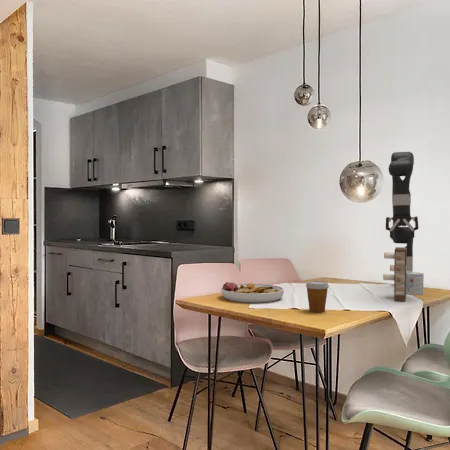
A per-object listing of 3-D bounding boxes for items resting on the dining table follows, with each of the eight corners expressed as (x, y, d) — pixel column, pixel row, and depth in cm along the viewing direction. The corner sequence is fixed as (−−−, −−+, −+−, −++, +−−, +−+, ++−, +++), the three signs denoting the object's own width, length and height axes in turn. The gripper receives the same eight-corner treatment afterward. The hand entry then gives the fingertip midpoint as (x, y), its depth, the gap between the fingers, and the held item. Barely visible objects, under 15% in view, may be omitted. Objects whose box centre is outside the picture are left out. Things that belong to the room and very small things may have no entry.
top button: (384, 258, 241) (384, 252, 241) (400, 258, 238) (400, 252, 238) (384, 258, 238) (384, 252, 238) (399, 259, 235) (399, 253, 235)
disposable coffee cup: (312, 307, 210) (312, 280, 209) (332, 310, 204) (332, 282, 203) (301, 311, 202) (301, 282, 202) (321, 314, 196) (321, 284, 196)
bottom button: (383, 279, 236) (383, 273, 236) (399, 280, 234) (399, 274, 234) (383, 280, 233) (383, 274, 233) (399, 281, 231) (399, 274, 231)
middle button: (390, 270, 230) (390, 264, 230) (406, 271, 228) (406, 265, 228) (389, 271, 228) (389, 265, 227) (406, 272, 225) (406, 265, 225)
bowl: (280, 293, 248) (280, 278, 248) (287, 304, 218) (287, 287, 218) (222, 293, 249) (222, 278, 249) (220, 304, 219) (220, 287, 219)
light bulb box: (398, 292, 251) (398, 271, 250) (407, 291, 254) (407, 270, 253) (414, 295, 241) (414, 273, 241) (423, 294, 244) (424, 273, 244)
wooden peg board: (395, 295, 241) (395, 247, 240) (406, 296, 239) (406, 247, 238) (394, 301, 225) (394, 249, 224) (405, 302, 223) (406, 250, 223)
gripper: (418, 203, 225) (418, 238, 226) (386, 204, 231) (386, 238, 231) (417, 203, 218) (418, 239, 219) (384, 204, 224) (385, 239, 225)
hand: (402, 239), depth 225 cm, fingers open, 8 cm apart
